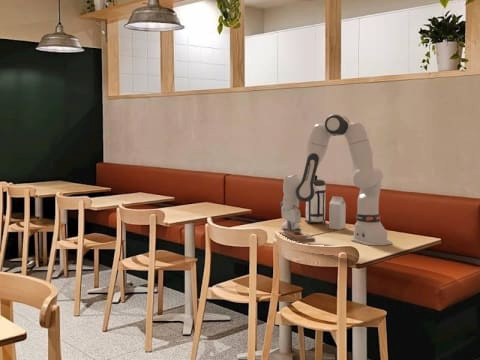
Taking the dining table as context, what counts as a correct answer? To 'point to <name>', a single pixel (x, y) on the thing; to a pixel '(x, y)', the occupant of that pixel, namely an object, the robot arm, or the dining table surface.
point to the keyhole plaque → (291, 232)
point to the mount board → (303, 239)
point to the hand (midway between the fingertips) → (291, 228)
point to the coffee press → (317, 203)
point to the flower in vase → (287, 225)
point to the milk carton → (337, 213)
